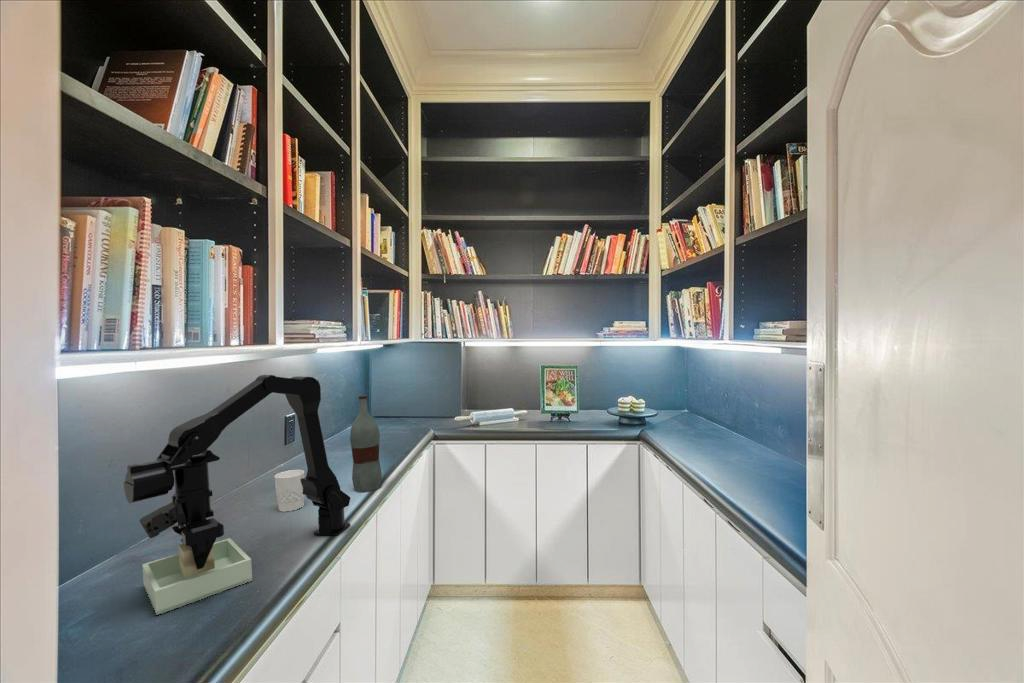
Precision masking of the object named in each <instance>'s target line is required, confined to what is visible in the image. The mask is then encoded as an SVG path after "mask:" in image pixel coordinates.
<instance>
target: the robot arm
mask: <svg viewBox="0 0 1024 683" xmlns="http://www.w3.org/2000/svg"><path fill="white" fill-rule="evenodd" d="M321 390H322V388H321V384H320V381H319V380H318V379H316V378H315V377H312V376H292V377H290V378H288V377H281V376H276V375H273V374H261V375H259V376H257V377H256V379H255V380H253V381H252V382H251V383H249V384H248V385H246V386H245V387H243V388H241V390H239V391H238V392H237V393H235V394H233V395H232V396H230V397H229V398H228V399H226V400H225V401H224V402H222V403H221V404H219V405H217V407H214V408H213V409H212V410H210V411H209V412H208V411H207V413H205V414H202V415H200V416H196V417H193V418H191V419H189V420H187V421H186V422H183V423H181V424H179V425H177V426H176V427H174V428H173V429H172V430H171V431H170V433H169V436H168V439H167V440H168V442H167V444H165V446H164V448H162V450H161V452H160V454H159V455H158V456H157V457H156V460H154V461H150V462H145V463H140V464H139V463H138V464H137V463H135V464H129V465H127V467H126V469H127V472H126V474H125V478H124V482H123V490H124V495H125V499H126V501H127V502H128V504H133V503H138V502H141V501H145V500H149V499H154V498H157V497H160V496H165V495H167V494H168V493H169V491H172V490H173V488H174V492H175V493H173V495H172V496H171V502H169V503H167V504H166V505H162V506H161V507H159V508H157V509H156V510H154V511H152V512H150V513H148V514H146V515H144V516H143V517H141V518H140V519H139V523H140V525H141V527H142V528H143V530H144V531H145V533H146V535H147V536H148V538H149V539H153V538H156V537H157V536H159V534H160V533H162V532H163V531H166V530H168V529H169V528H171V529H172V530H173V532H175V533H176V534H178V535H179V536H181V539H180V542H182V544H184V545H186V546H190V547H191V550H192V554H193V557H194V561H195V564H196V568H197V569H201V568H203V567H204V565H205V563H206V561H207V558H208V556H209V553H210V551H211V549H212V546H213V544H214V543H215V542H216V540H217V539H218V538H221V537H223V536H224V535H225V529H224V524H223V523H222V522H221V521H220V520H218V519H217V518H215V517H214V514H215V512H214V509H212V504H211V497H212V496H213V490H212V489H211V488H210V474H209V473H210V471H209V463H212V462H217V461H219V460H220V456H218V455H216V454H215V453H213V452H212V450H210V449H209V448H210V447H211V446H212V445H213V444H214V443H215V442H216V441H217V440H218V438H219V436H221V434H222V432H223V431H224V430H225V429H226V428H227V427H228V426H229V425H230V424H231V423H233V422H234V421H236V420H237V419H238V418H240V417H241V416H242V415H244V414H245V413H247V412H248V411H249V410H250V409H252V408H253V407H255V405H257V404H259V403H260V402H261V401H262V400H264V399H265V398H266V397H268V396H269V395H270V394H281V395H285V397H286V400H287V401H288V405H289V406H290V408H291V409H292V410H293V412H294V413H295V415H296V418H297V422H298V427H299V432H300V439H301V443H302V447H303V452H304V457H305V461H306V467H307V472H306V475H305V477H304V478H302V479H301V484H302V486H303V493H302V494H304V496H305V498H306V499H308V500H309V501H311V503H312V506H314V507H318V511H317V514H318V516H317V518H318V520H317V522H318V529H317V530H315V531H314V532H313V535H314V536H315V535H320V536H339V534H341V533H343V531H344V530H346V529H347V528H349V527H350V526H351V523H350V522H345V520H346V519H345V508H347V507H349V506H350V502H351V496H350V495H348V494H346V493H345V492H344V491H342V490H341V485H340V484H339V481H338V479H337V476H336V474H335V473H334V472H333V470H332V469H331V467H330V466H329V462H328V456H327V452H326V446H325V441H324V436H323V431H322V427H321V422H320V417H319V407H320V404H321V401H322V393H321V392H322V391H321ZM210 517H211V518H210ZM207 518H209V519H207ZM174 525H175V526H174Z"/></svg>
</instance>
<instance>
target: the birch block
mask: <svg viewBox="0 0 1024 683" xmlns="http://www.w3.org/2000/svg"><path fill="white" fill-rule="evenodd" d="M178 553H179V562H180V571H181V572H182V574H183V576H184V577H185V578H187V577H190V576H193V575H196V574H199V573H202V572H205V571H208V570H211V569H214V568H215V563H214V546H212V549H211V551H210V553H209V556H208V558H207V561H206V563H205V565H204V567H203V568H201V569H197V568H196V564H195V561H194V557H193V554H192V550H191V547H190V546H186V545H184V544H183V543H182V544H178Z"/></svg>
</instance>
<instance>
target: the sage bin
mask: <svg viewBox="0 0 1024 683" xmlns="http://www.w3.org/2000/svg"><path fill="white" fill-rule="evenodd" d="M213 546H214V563H215V568H214V569H211V570H208V571H205V572H202V573H199V574H196V575H193V576H190V577H187V578H185V577H184V576H183V574H182V572H181V571H180V562H179V552H178V553H175V554H172V555H169V556H165V557H163V558H159V559H155V560H152V561H149V562H146V563H142V575H143V576H142V578H143V582H142V583H143V588H144V587H145V588H144V590H145V589H146V590H145V593H146V592H147V593H146V595H147V594H148V595H147V597H149V598H148V600H149V599H150V600H149V602H150V601H151V602H150V604H152V605H151V607H152V606H153V607H152V609H153V608H154V609H153V611H154V610H155V612H154V614H155V613H156V614H155V616H156V615H158V614H160V613H163V612H166V611H169V610H172V609H174V608H177V607H181V606H183V605H186V604H189V603H192V604H194V603H193V602H195V601H198V600H200V601H202V600H201V599H203V598H205V597H207V596H210V595H213V594H215V593H218V592H221V591H224V590H227V589H229V588H232V587H235V586H238V585H241V586H243V585H242V584H244V585H246V584H245V583H247V582H249V583H251V582H250V581H252V582H253V566H252V558H251V557H250V556H248V554H246V552H245V551H244V550H243V549H242V548H241V547H239V545H238V544H237V543H236V542H235V541H233V540H232V538H230V537H229V538H226V539H222V540H219V541H215V542H214V544H213ZM247 584H248V583H247ZM238 587H239V586H238ZM227 591H228V590H227ZM203 600H204V599H203ZM198 602H199V601H198ZM195 603H196V602H195ZM189 605H190V604H189ZM181 608H182V607H181Z"/></svg>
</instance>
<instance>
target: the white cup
mask: <svg viewBox="0 0 1024 683" xmlns="http://www.w3.org/2000/svg"><path fill="white" fill-rule="evenodd" d="M302 478H305V470H303V469H292V470H291V469H290V470H285V471H282V472H278V473H277V474H275V475H274V486H275V492H276V495H275V496H276V501H277V506H278V511H279V512H281V511H282V513H283V512H284V513H287V512H286V511H289V512H294V511H297V509H298V510H300V509H302V508H303V507H304V506H305V495H304V494H302V493H303V486H302V484H301V479H302ZM301 507H302V508H301ZM299 508H300V509H299ZM293 510H294V511H293Z"/></svg>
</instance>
